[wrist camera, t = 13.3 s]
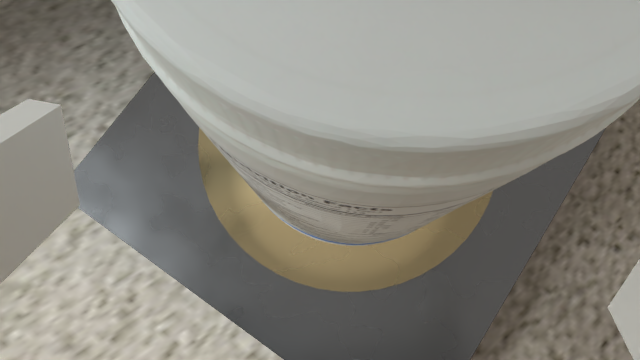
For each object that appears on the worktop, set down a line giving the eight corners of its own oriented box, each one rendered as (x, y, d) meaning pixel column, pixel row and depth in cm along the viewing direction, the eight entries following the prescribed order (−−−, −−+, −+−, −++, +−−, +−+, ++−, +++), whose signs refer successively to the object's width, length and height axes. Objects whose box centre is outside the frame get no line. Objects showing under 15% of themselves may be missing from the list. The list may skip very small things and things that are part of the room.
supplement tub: (265, 24, 21) (141, -504, 7) (473, 52, 21) (790, -452, 7) (222, 233, 19) (-75, 85, 5) (453, 269, 19) (848, 220, 5)
